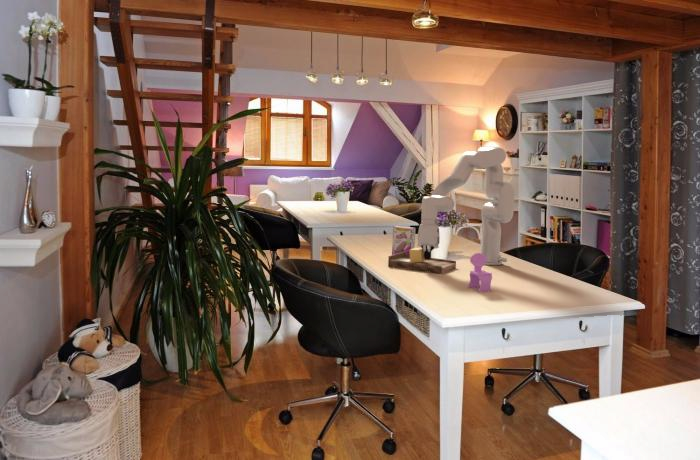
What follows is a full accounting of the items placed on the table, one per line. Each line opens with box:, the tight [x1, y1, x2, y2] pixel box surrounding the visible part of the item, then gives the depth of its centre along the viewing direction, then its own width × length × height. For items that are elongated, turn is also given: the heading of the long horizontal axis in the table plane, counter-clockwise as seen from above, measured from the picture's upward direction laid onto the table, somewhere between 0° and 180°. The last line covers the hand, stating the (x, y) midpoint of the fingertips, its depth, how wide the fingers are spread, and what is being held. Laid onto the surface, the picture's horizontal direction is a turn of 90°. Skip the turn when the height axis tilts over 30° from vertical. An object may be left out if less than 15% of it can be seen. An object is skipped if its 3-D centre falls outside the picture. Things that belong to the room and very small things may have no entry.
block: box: [409, 247, 425, 262], centre depth 296 cm, size 6×6×6 cm
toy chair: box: [467, 252, 493, 293], centre depth 252 cm, size 8×9×15 cm
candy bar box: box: [391, 225, 416, 255], centre depth 320 cm, size 11×5×16 cm, turn 58°
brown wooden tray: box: [387, 251, 457, 275], centre depth 296 cm, size 28×18×5 cm, turn 58°
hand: (427, 259), depth 294 cm, fingers closed
